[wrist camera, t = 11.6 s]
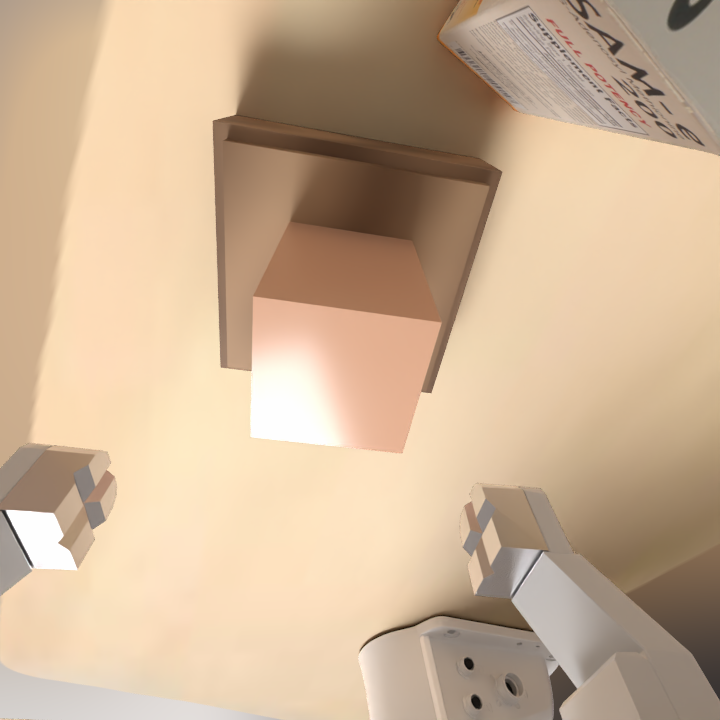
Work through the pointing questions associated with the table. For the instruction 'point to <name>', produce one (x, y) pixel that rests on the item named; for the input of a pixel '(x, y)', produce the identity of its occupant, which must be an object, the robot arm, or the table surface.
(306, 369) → the terracotta block
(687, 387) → the table surface
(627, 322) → the table surface
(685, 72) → the supplement box
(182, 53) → the table surface
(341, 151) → the plinth
